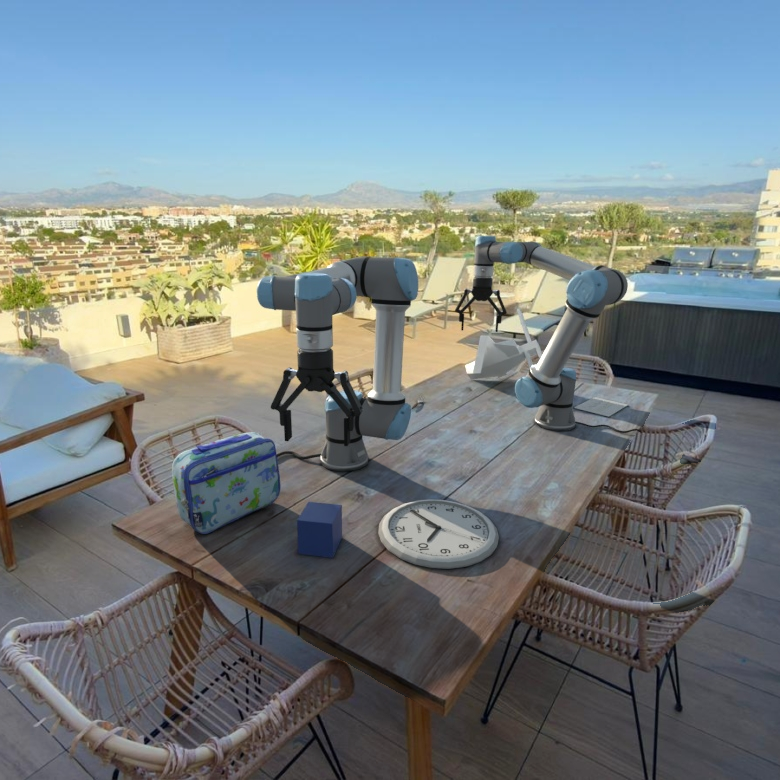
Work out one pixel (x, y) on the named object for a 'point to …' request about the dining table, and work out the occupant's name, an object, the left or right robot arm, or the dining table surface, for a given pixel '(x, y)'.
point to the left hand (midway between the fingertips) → (317, 441)
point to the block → (319, 529)
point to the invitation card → (601, 406)
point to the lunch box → (225, 480)
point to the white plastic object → (501, 355)
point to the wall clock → (438, 534)
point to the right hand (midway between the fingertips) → (479, 330)
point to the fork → (418, 402)
